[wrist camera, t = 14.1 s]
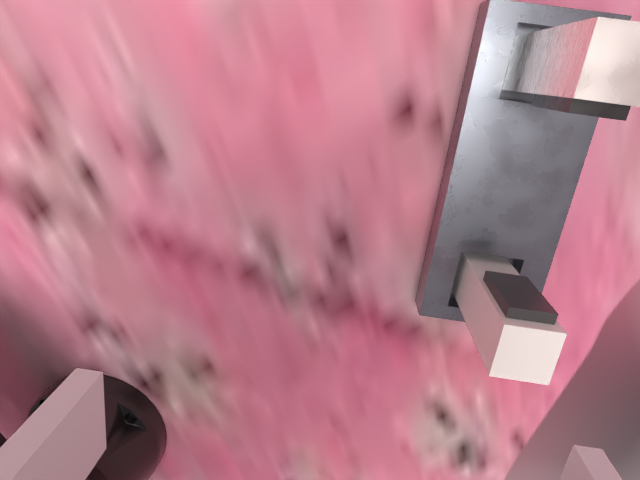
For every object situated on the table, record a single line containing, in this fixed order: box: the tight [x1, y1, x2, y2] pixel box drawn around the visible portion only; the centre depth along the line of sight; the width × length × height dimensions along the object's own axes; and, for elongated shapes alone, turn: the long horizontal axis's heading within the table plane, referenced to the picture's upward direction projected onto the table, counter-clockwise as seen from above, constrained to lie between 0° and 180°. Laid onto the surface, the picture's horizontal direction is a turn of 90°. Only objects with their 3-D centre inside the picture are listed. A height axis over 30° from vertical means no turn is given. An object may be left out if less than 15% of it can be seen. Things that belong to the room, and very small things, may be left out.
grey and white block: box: [416, 0, 640, 322], centre depth 34 cm, size 10×26×14 cm, turn 173°
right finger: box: [452, 251, 567, 385], centre depth 36 cm, size 5×4×13 cm
